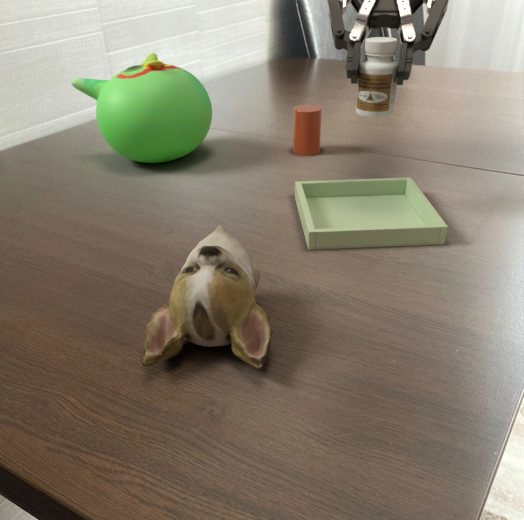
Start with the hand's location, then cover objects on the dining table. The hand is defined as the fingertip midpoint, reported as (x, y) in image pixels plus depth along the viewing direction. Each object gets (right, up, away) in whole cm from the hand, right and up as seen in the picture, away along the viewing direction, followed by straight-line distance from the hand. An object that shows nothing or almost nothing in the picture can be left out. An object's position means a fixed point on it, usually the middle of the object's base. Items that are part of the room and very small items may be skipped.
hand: (377, 79), depth 61 cm
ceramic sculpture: (-17, -29, -11) cm, 35 cm away
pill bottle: (0, -2, +4) cm, 5 cm away
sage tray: (0, -14, +8) cm, 16 cm away
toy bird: (-29, +1, +29) cm, 41 cm away
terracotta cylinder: (-6, +2, +29) cm, 30 cm away
